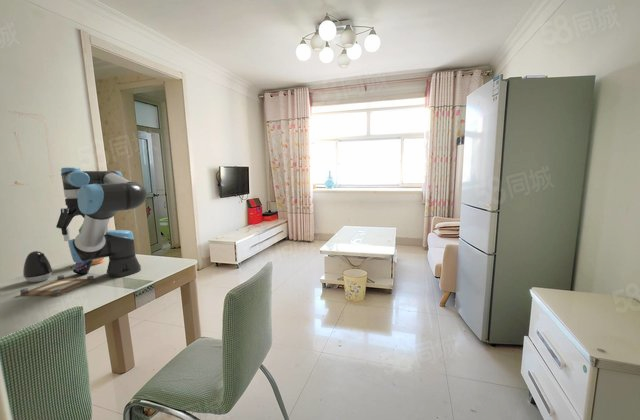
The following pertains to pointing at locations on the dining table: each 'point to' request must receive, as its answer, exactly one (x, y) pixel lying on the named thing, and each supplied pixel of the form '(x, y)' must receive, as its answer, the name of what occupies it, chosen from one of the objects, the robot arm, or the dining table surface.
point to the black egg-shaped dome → (36, 267)
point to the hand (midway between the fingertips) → (80, 237)
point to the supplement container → (82, 267)
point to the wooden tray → (57, 286)
